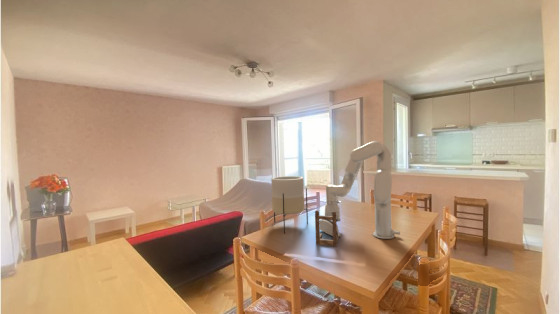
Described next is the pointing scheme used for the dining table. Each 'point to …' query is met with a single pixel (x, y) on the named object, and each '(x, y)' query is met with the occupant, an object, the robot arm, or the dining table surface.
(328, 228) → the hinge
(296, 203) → the planter
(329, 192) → the robot arm
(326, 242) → the brown wooden frame
